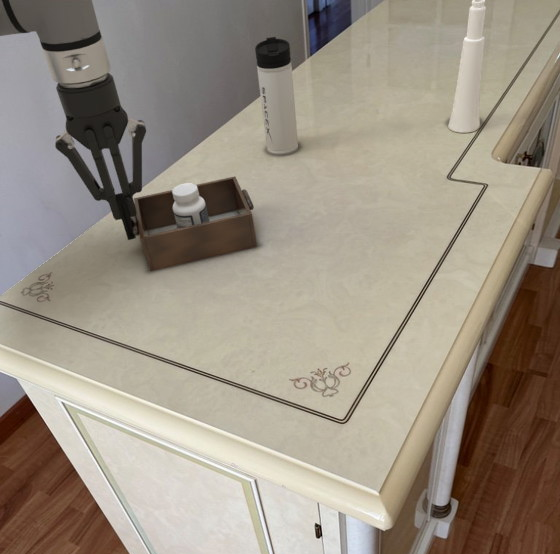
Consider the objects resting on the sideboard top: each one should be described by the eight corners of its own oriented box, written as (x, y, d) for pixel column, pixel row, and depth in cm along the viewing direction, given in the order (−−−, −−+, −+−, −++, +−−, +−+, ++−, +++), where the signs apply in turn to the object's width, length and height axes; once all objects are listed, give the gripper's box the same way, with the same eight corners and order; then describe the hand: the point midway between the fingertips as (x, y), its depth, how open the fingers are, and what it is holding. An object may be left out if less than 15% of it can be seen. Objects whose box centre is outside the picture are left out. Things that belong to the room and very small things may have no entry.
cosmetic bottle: (470, 118, 120) (485, -7, 104) (485, 129, 116) (503, 1, 100) (442, 124, 119) (454, -1, 104) (456, 135, 115) (470, 7, 99)
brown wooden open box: (145, 276, 92) (133, 240, 87) (138, 234, 101) (127, 199, 96) (263, 249, 94) (258, 212, 89) (246, 210, 103) (241, 174, 98)
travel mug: (297, 142, 120) (288, 34, 106) (299, 157, 115) (290, 45, 101) (266, 146, 120) (253, 39, 106) (268, 161, 116) (254, 50, 101)
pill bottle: (205, 226, 99) (194, 177, 93) (217, 239, 96) (207, 189, 90) (176, 236, 98) (163, 187, 92) (188, 250, 95) (175, 201, 88)
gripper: (32, 96, 74) (91, 255, 90) (133, 78, 75) (173, 238, 92) (35, 77, 79) (90, 231, 95) (129, 61, 80) (168, 215, 97)
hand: (131, 234), depth 93 cm, fingers closed
